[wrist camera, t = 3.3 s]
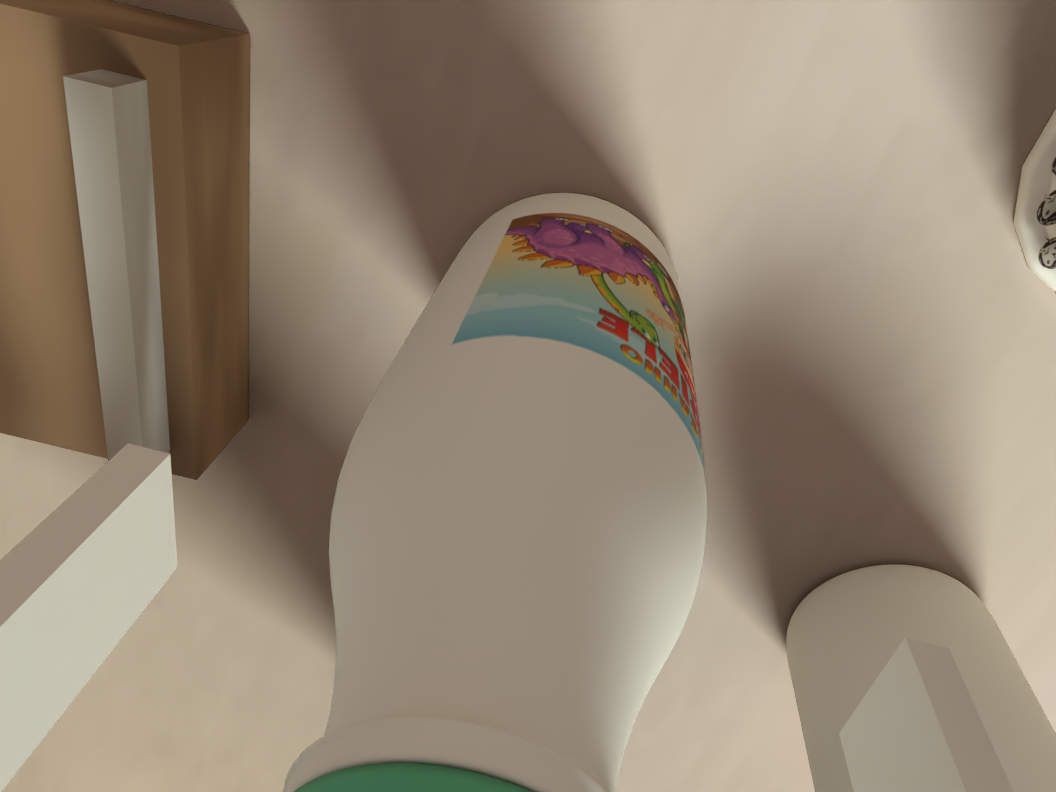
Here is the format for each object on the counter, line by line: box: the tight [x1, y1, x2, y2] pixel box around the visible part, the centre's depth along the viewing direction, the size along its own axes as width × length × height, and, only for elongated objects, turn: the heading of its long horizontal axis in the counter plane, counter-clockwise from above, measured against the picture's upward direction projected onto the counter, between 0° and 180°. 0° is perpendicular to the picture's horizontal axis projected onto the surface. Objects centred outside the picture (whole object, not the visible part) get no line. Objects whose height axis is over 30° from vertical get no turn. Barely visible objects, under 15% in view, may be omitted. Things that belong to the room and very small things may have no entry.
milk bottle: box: [283, 193, 707, 792], centre depth 16 cm, size 8×8×20 cm
